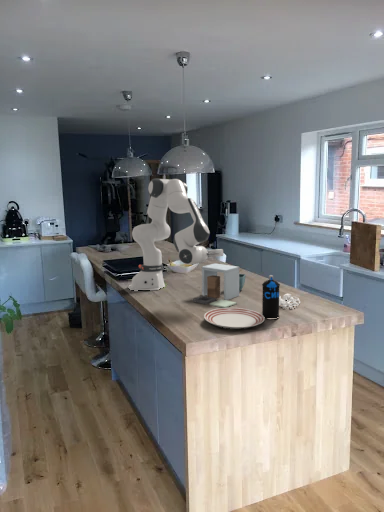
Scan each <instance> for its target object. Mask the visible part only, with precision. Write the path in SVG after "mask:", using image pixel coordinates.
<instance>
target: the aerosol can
mask: <svg viewBox="0 0 384 512" xmlns="http://www.w3.org/2000/svg"><path fill="white" fill-rule="evenodd" d="M261 285H262V300H261V301H262V304H261V305H262V308H261V311H262V312H261V314H262V315H263V316H264V317H265V318H277V317H279V318H280V306H279V297H280V286H281V284H280V283H279V282H278V281H276V280H274V275H272V274H270V275H268V280H265V281H264V282H262V283H261Z"/></svg>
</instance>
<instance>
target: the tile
mask: <svg viewBox="0 0 384 512" xmlns="http://www.w3.org/2000/svg"><path fill="white" fill-rule="evenodd" d="M237 304H238V303H237V301H231V300H224V298H223V299H222V298H220V299H218V300H216V301H214V302H211V303H209V306H213V307H218V308H230V307H232V305H233V306H235V305H237ZM229 306H230V307H229Z"/></svg>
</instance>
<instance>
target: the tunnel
mask: <svg viewBox="0 0 384 512" xmlns="http://www.w3.org/2000/svg"><path fill="white" fill-rule="evenodd" d="M218 273H223V300H227V301H230V300H231V299H234V298H237V297H240V291H239V274H240V266H238V265H237V266H235V265H228V264H223V263H222V264H221V263H217V262H216V263H211V264H207V265H203V266H202V265H201V296H207V277H208V276H212V275H215V276H218Z"/></svg>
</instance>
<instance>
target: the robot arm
mask: <svg viewBox="0 0 384 512" xmlns="http://www.w3.org/2000/svg"><path fill="white" fill-rule="evenodd" d="M147 189H148V194H149V195H150V199H149V202H148V206H147V211H146V213H147V217H148V218H150V219H151V222H150V223H141V224H139V225H137V226H134V227H133V229H132V232H131V236H132V239H133V240H134V242H136V243H137V244H138V245H139V246H140V249H141V251H142V258H143V264H139V265H138V268H139V269H140V271H139V272H137V274H135V275H133V277H132V279H131V284H129V285H128V286H127V289H128V288H129V289H130V290H129V289H128V290H129V291H131V290H134V291H133V292H139V291H138V290H150V291H160V290H161V289H164V288H165V287H166V283H165V282H164V281H165V280H164V275H163V272H164V266H163V262H162V257H163V256H162V251H161V249H160V248H158V247H156V245H155V242H160V241H164V240H166V239H168V238H169V237H170V236H171V227H170V226H169V224H168V223H167V221H166V220H167V212H168V208H169V210H170V211H171V212H173V213H176V214H179V215H180V214H181V215H182V214H186V213H189V214H190V215H191V216H190V217H191V218H192V220H193V223H192V224H191V225H189V226H187V227H186V228H184V229H181V230H179V231H177V232H176V233H175V234H174V237H173V245H174V248H175V250H176V251H177V252H178V259H179V261H180V262H182V263H183V264H185V265H190V266H191V265H196V264H197V265H198V264H203V263H205V262H206V261H207V260H208V259H209V258H216V257H217V258H218V257H223V256H224V249H223V248H220V249H218V248H216V249H207V248H206V247H205V246H203V245H199V244H201V243H204V242H206V241H208V240H209V238H210V234H211V232H210V230H209V227H208V225H207V223H206V222H205V220H204V218H203V215H202V214H201V211H200V209H199V207H198V205H197V203H196V202H195V201H194V199H193V198H191V197H190V198H189V197H188V185H187V183H185V182H183V181H182V180H180V179H179V178H172V179H171V178H169V179H167V178H158V177H157V178H153V179H151V180H150V181H149V183H148V188H147ZM163 287H164V288H163ZM160 288H161V289H160ZM159 289H160V290H159Z"/></svg>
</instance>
